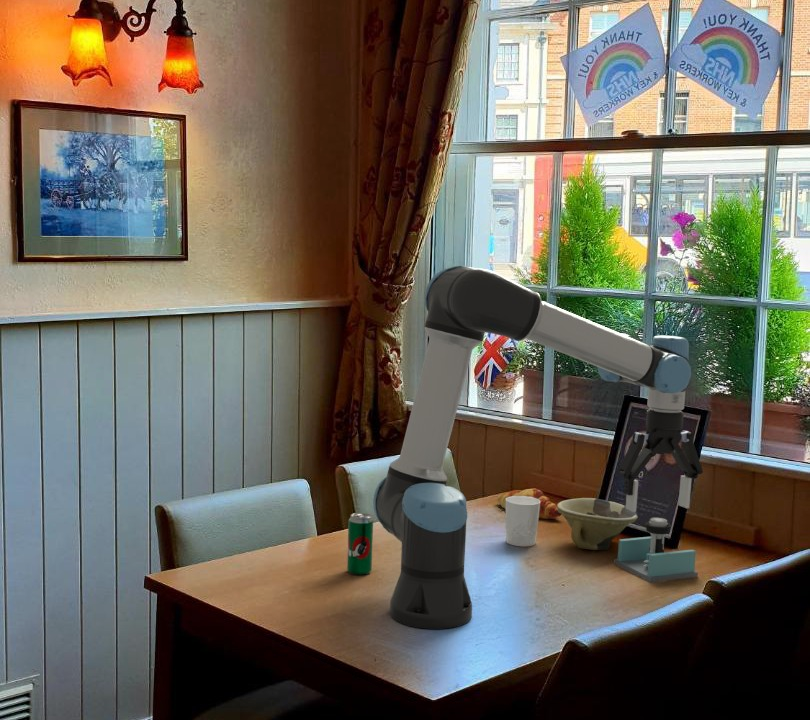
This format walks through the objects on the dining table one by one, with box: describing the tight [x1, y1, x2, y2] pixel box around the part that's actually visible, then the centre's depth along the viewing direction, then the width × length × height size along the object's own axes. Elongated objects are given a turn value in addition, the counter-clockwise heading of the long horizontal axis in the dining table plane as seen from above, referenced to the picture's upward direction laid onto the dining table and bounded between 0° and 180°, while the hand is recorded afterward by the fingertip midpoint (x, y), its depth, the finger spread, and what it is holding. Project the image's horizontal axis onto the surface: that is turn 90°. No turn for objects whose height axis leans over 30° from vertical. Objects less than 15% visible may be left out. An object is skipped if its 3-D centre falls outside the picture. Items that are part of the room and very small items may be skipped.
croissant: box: [496, 488, 563, 520], centre depth 270 cm, size 21×10×8 cm, turn 44°
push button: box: [643, 517, 672, 567], centre depth 225 cm, size 7×5×10 cm
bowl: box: [556, 497, 639, 552], centre depth 242 cm, size 18×18×10 cm
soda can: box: [346, 512, 374, 576], centre depth 218 cm, size 5×5×12 cm
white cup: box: [505, 496, 540, 548], centre depth 243 cm, size 8×8×10 cm
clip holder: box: [613, 535, 699, 583], centre depth 226 cm, size 12×13×6 cm
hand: (657, 508), depth 225 cm, fingers open, 13 cm apart
